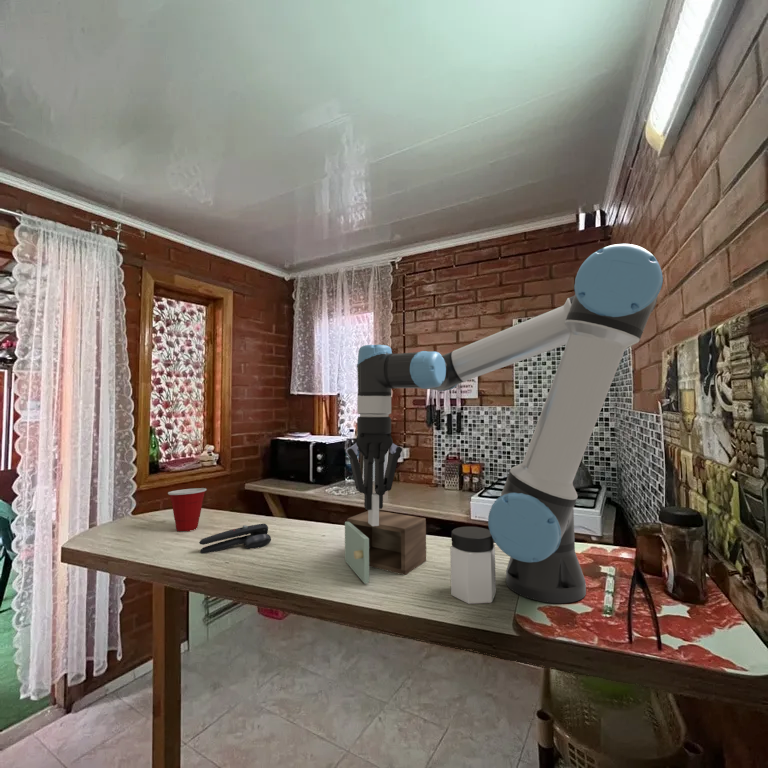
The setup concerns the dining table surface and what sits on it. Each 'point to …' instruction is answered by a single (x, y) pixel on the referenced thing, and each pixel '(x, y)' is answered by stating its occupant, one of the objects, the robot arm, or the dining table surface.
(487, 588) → the jar
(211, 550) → the can opener
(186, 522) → the plastic cup
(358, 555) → the door
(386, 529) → the case
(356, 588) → the dining table surface
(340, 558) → the dining table surface
